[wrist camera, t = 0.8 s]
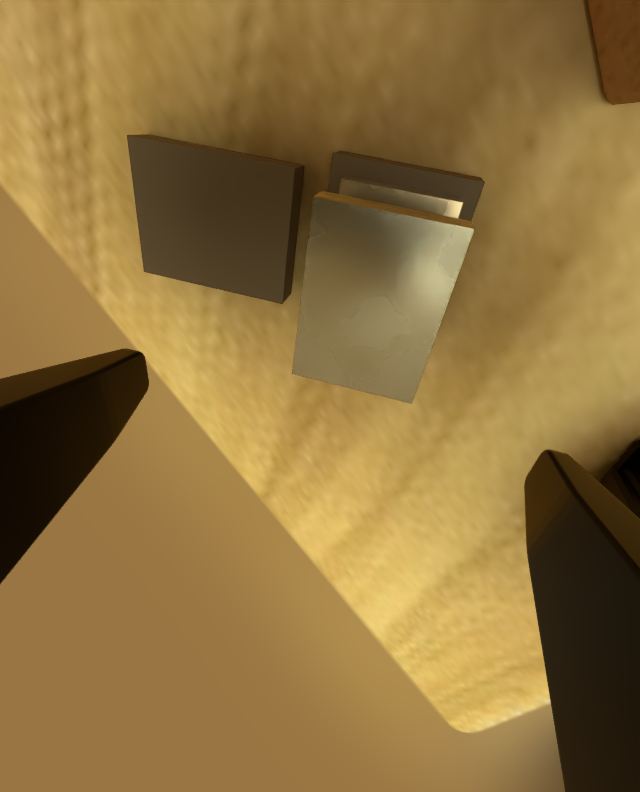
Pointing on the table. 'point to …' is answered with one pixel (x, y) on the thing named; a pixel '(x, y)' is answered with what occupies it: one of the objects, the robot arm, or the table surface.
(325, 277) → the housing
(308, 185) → the table surface
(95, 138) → the table surface
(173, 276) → the stand
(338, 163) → the stand
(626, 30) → the wooden block
